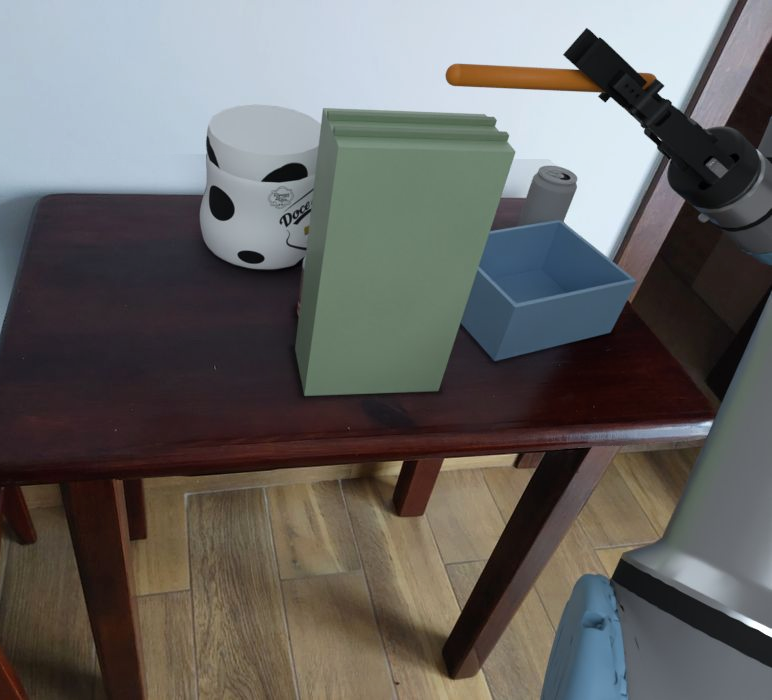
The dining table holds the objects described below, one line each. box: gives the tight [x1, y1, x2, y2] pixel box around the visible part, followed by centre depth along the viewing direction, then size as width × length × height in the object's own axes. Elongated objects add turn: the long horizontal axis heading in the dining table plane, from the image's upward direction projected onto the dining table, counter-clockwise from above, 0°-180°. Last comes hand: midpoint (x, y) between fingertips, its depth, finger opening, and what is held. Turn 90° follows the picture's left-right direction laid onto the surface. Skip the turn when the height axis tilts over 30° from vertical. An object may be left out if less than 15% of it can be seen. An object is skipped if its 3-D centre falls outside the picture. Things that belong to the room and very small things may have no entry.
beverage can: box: [515, 165, 578, 227], centre depth 103 cm, size 6×6×12 cm
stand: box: [294, 107, 516, 397], centre depth 71 cm, size 16×8×31 cm, turn 98°
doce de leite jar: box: [199, 104, 321, 272], centre depth 92 cm, size 17×17×18 cm
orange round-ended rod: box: [444, 63, 658, 94], centre depth 60 cm, size 20×2×2 cm, turn 99°
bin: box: [460, 220, 638, 362], centre depth 90 cm, size 15×19×9 cm
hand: (583, 47), depth 58 cm, fingers closed on orange round-ended rod, 2 cm apart
